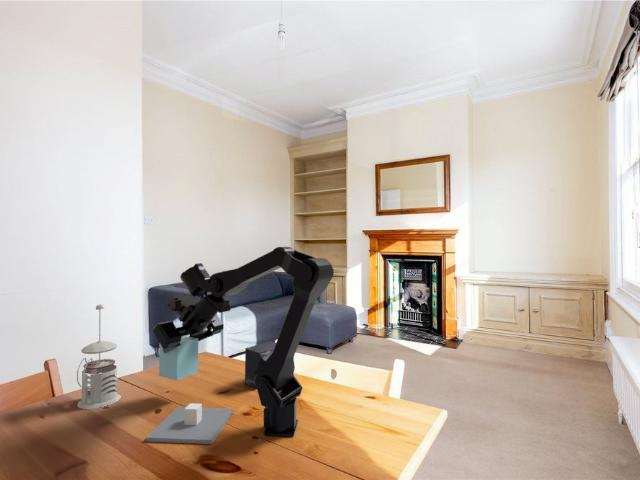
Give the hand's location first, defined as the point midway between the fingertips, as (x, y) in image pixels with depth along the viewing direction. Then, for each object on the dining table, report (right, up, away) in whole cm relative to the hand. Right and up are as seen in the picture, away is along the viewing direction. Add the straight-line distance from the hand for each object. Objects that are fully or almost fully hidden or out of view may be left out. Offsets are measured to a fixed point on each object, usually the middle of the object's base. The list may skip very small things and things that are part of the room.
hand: (175, 348), depth 96 cm
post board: (+10, -13, -15) cm, 22 cm away
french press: (-19, -13, -3) cm, 23 cm away
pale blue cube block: (+1, -7, -1) cm, 7 cm away
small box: (+22, -13, +11) cm, 28 cm away
